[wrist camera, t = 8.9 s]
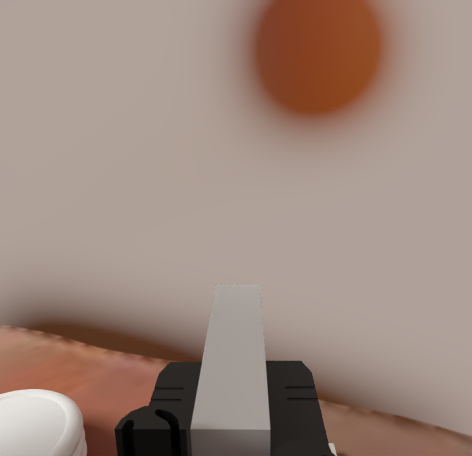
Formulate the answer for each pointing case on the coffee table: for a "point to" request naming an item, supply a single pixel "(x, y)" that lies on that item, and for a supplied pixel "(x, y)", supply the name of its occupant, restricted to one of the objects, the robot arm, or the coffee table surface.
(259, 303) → the robot arm
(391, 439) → the coffee table surface
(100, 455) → the coffee table surface
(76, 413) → the coaster
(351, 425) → the coffee table surface
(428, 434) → the coffee table surface
